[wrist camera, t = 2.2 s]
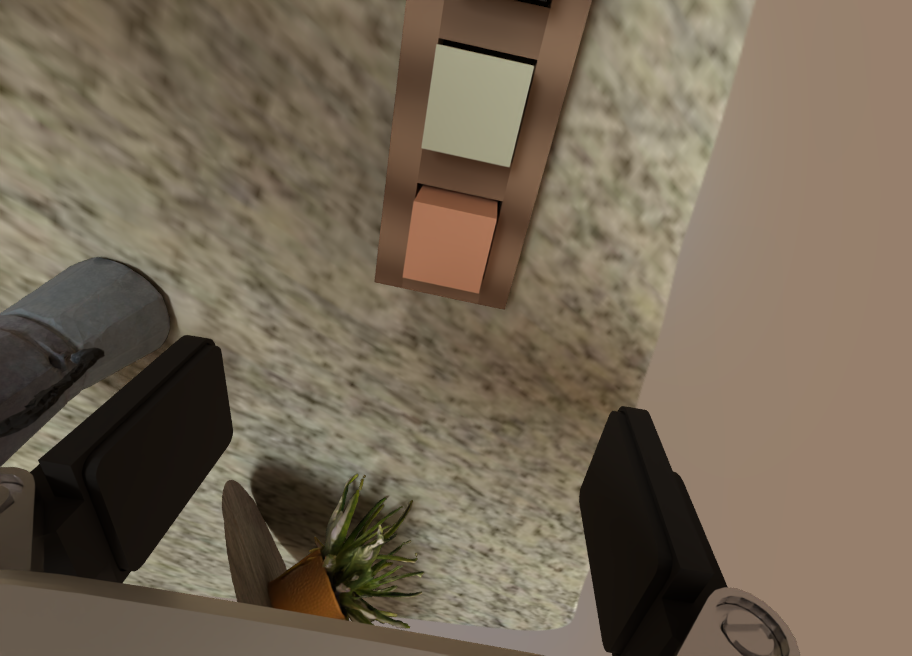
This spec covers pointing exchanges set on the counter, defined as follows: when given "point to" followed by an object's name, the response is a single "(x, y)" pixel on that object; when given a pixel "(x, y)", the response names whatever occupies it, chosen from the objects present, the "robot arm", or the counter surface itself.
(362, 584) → the potted plant
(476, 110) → the sage button
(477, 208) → the terracotta button
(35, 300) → the moka pot
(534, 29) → the walnut panel
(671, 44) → the counter surface
